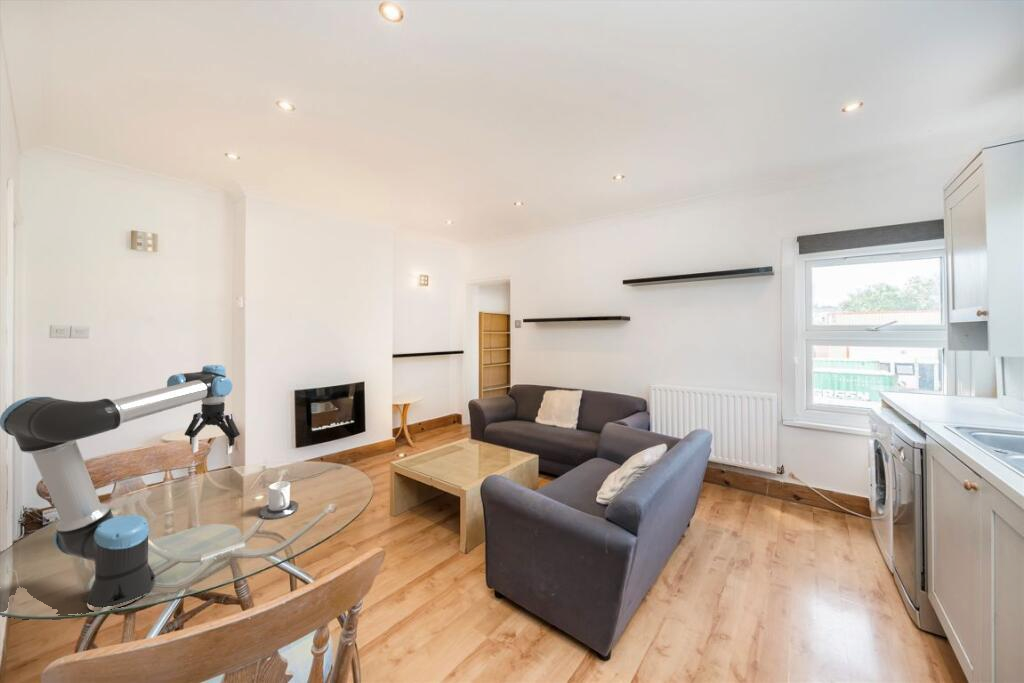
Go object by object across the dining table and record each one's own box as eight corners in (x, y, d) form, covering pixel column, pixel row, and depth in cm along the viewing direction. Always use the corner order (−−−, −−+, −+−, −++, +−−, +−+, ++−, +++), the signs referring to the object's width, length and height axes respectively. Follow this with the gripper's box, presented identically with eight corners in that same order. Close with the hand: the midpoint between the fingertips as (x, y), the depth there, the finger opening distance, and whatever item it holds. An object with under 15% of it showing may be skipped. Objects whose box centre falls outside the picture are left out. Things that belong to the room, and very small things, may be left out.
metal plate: (281, 521, 164) (281, 518, 164) (251, 516, 167) (251, 513, 167) (305, 505, 179) (305, 502, 179) (278, 500, 182) (278, 498, 182)
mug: (295, 510, 172) (295, 488, 171) (274, 516, 166) (275, 494, 165) (285, 500, 180) (286, 479, 179) (265, 506, 174) (266, 484, 173)
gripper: (250, 402, 161) (248, 450, 162) (188, 399, 159) (187, 448, 160) (238, 405, 154) (237, 456, 155) (174, 403, 152) (172, 454, 153)
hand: (212, 452), depth 157 cm, fingers open, 13 cm apart
